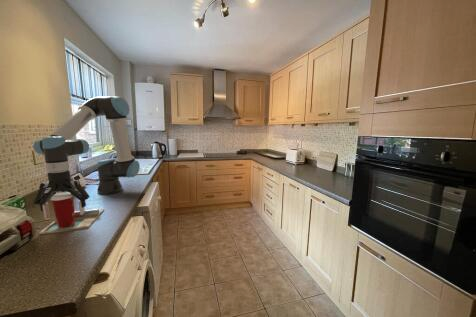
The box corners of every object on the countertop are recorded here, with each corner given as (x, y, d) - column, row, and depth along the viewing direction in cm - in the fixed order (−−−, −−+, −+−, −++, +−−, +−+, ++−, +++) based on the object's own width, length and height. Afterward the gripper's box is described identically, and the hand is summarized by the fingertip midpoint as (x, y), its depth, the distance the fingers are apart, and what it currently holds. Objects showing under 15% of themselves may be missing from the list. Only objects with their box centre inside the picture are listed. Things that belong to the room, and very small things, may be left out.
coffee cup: (82, 222, 96) (78, 192, 94) (63, 230, 88) (58, 198, 86) (69, 219, 99) (65, 190, 96) (49, 227, 91) (45, 196, 88)
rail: (57, 218, 98) (56, 213, 98) (99, 214, 103) (98, 208, 103) (55, 220, 97) (54, 214, 96) (98, 215, 102) (97, 209, 101)
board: (64, 214, 104) (64, 213, 104) (103, 210, 109) (103, 209, 109) (39, 234, 85) (38, 232, 85) (88, 228, 90) (87, 226, 90)
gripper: (16, 175, 82) (25, 222, 86) (87, 171, 89) (93, 215, 93) (29, 171, 89) (37, 215, 93) (94, 167, 96) (99, 209, 100)
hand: (65, 215), depth 93 cm, fingers open, 13 cm apart
